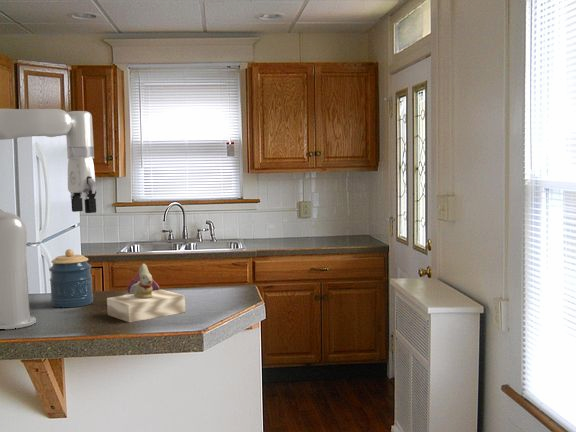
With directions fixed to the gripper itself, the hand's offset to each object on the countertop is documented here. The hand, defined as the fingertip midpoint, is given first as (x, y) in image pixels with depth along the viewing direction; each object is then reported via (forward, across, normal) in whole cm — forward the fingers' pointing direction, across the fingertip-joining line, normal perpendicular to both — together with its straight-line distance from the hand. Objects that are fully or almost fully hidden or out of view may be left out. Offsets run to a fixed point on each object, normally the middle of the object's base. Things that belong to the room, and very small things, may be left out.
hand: (84, 212), depth 214 cm
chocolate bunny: (+26, +13, +12) cm, 31 cm away
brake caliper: (+31, -1, +18) cm, 36 cm away
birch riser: (+30, +13, +12) cm, 35 cm away
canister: (+31, -18, +2) cm, 35 cm away
